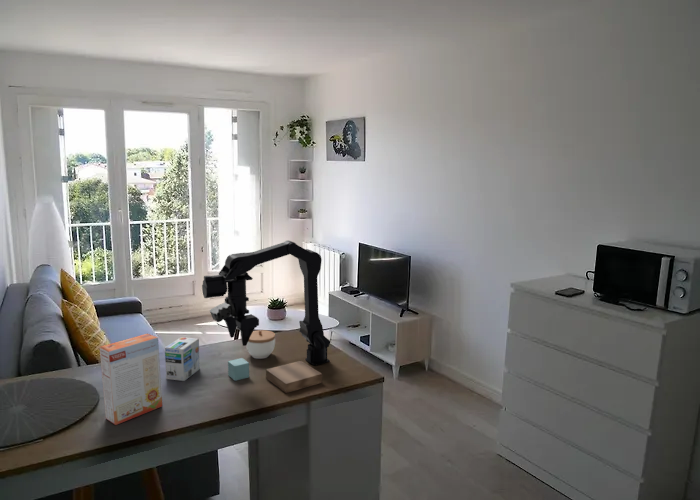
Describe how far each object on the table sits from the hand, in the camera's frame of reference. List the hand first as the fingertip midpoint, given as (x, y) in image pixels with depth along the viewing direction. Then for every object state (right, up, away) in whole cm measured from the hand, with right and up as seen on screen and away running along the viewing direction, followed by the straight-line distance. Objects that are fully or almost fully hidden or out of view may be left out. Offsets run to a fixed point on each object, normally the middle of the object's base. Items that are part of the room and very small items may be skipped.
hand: (238, 341), depth 166 cm
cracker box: (-24, -16, -23) cm, 37 cm away
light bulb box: (-19, -12, +3) cm, 22 cm away
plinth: (+18, -13, 0) cm, 22 cm away
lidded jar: (+4, -9, +20) cm, 22 cm away
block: (0, -12, +2) cm, 12 cm away
